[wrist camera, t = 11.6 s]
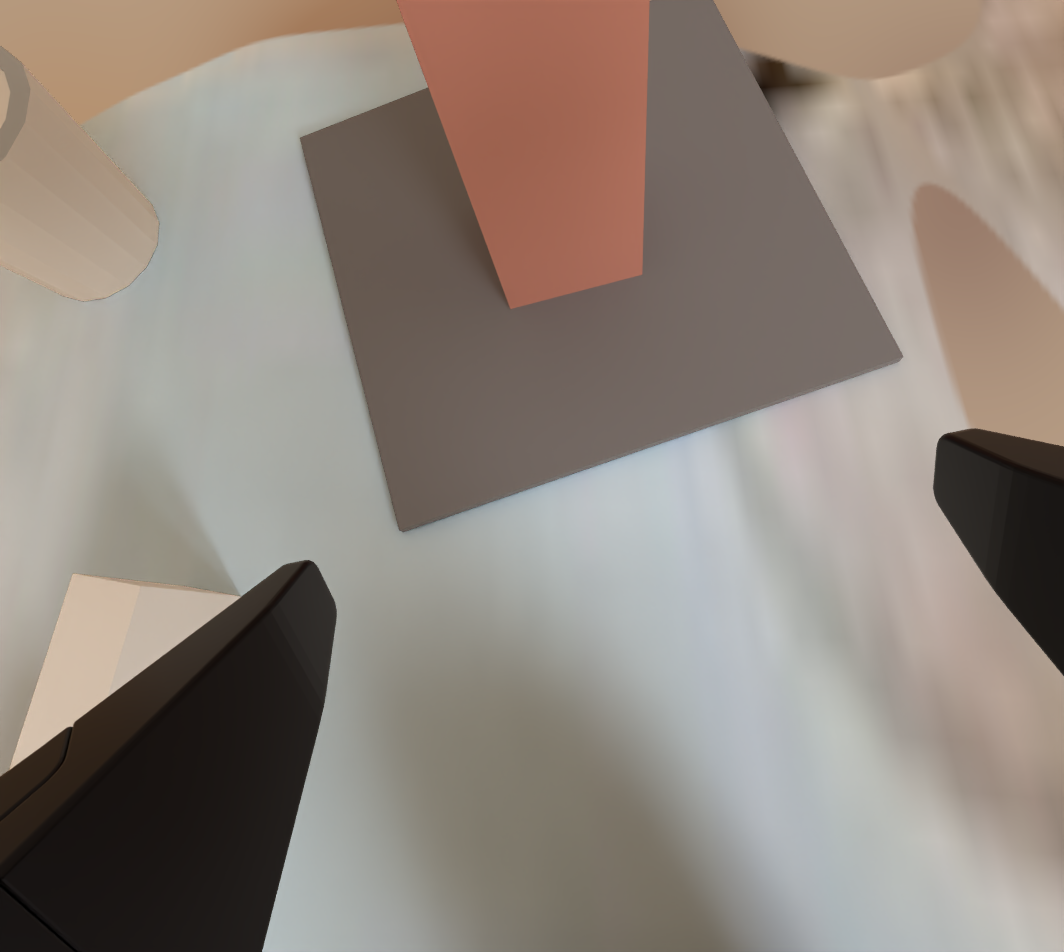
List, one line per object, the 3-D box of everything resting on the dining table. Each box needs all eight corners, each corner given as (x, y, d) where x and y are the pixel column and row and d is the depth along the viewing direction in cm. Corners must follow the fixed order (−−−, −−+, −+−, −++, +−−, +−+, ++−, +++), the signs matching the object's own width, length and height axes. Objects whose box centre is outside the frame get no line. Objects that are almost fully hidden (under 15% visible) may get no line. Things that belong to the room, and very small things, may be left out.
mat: (898, 361, 22) (903, 356, 21) (403, 532, 23) (399, 530, 22) (701, -11, 27) (702, -20, 26) (304, 144, 28) (300, 137, 27)
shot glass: (164, 157, 29) (22, 11, 22) (180, 284, 27) (31, 167, 20) (28, 206, 29) (-150, 78, 23) (35, 335, 27) (-158, 236, 21)
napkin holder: (222, 502, 25) (104, 463, 19) (398, 741, 21) (318, 777, 16) (-84, 773, 24) (-297, 814, 18) (53, 1063, 21) (-157, 1218, 15)
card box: (642, 274, 23) (653, -143, 11) (510, 309, 24) (376, -53, 11) (611, 164, 25) (589, -319, 12) (486, 198, 25) (344, -233, 13)
